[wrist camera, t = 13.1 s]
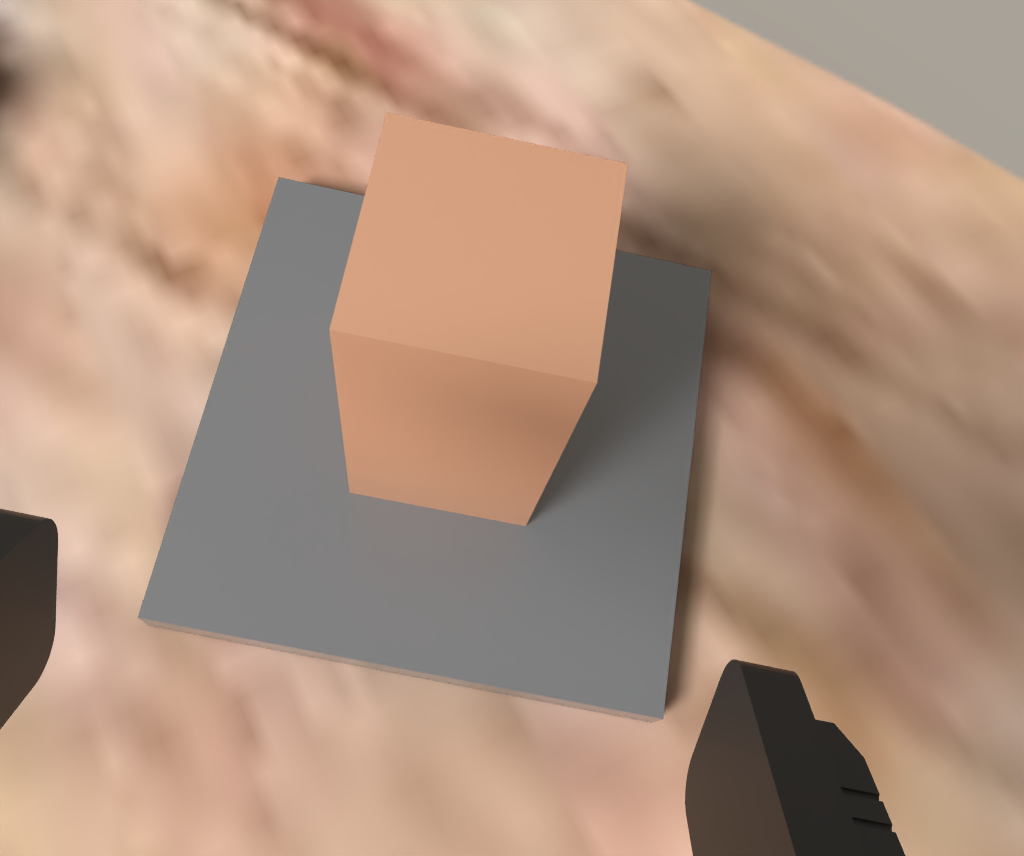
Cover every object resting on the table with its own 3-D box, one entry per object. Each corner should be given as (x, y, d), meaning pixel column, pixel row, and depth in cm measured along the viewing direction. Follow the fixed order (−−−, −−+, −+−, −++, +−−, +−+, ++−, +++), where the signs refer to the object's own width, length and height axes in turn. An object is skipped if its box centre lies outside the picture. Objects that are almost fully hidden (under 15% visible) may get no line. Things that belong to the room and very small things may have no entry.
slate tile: (700, 289, 32) (711, 270, 31) (651, 722, 27) (663, 718, 26) (282, 199, 31) (278, 177, 30) (148, 625, 26) (137, 617, 25)
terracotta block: (551, 367, 29) (628, 163, 20) (525, 526, 27) (596, 383, 18) (387, 334, 29) (386, 112, 19) (349, 492, 27) (329, 329, 18)
